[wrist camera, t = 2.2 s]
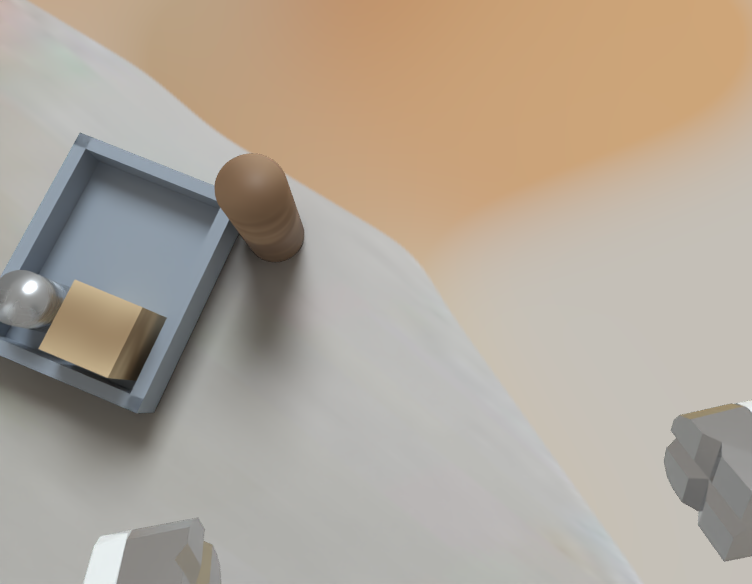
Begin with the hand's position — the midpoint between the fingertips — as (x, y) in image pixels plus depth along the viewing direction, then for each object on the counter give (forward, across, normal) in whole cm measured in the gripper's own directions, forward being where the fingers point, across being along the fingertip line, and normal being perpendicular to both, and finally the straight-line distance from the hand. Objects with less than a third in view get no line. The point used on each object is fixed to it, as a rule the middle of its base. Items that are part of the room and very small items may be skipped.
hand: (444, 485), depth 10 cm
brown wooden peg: (+27, +4, +8) cm, 28 cm away
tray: (+26, +14, +9) cm, 31 cm away
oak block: (+23, +14, +11) cm, 29 cm away
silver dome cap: (+24, +18, +9) cm, 32 cm away
